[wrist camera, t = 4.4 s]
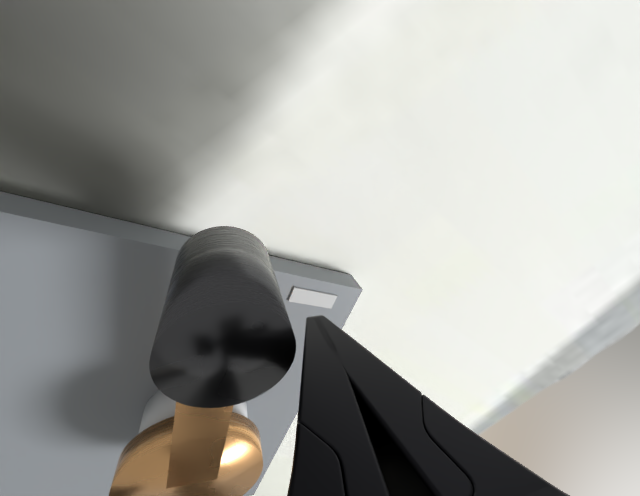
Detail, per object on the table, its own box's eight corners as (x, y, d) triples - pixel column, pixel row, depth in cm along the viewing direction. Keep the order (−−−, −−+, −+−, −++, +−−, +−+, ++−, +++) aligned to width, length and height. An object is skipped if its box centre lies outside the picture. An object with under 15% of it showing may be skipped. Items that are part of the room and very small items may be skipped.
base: (251, 471, 22) (256, 530, 19) (-110, 508, 14) (-198, 617, 11) (351, 274, 16) (380, 313, 13) (-158, 153, 8) (-362, 183, 5)
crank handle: (248, 480, 16) (257, 585, 12) (117, 505, 13) (82, 644, 10) (319, 238, 10) (369, 308, 7) (119, 211, 8) (43, 295, 4)
